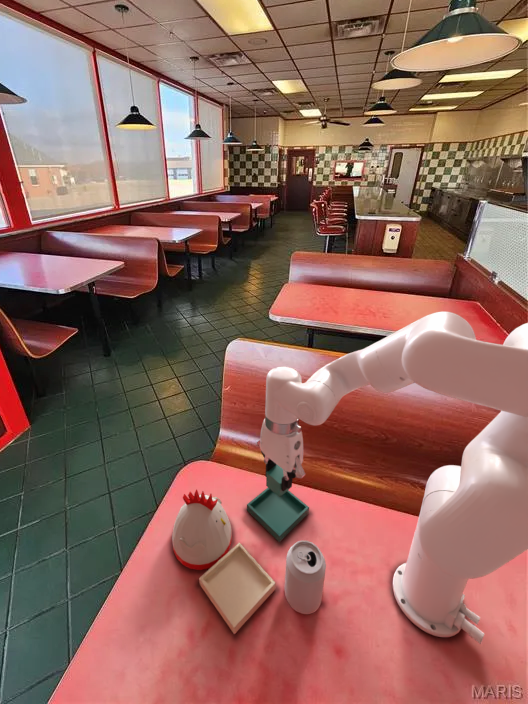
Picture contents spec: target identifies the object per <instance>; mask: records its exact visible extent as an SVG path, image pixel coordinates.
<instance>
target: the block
mask: <svg viewBox="0 0 528 704" xmlns="http://www.w3.org/2000/svg"><path fill="white" fill-rule="evenodd" d="M265 474H266V476H265V480H266V481H265V487H266V488H269V489H270V490H272V491H273V492H274V493H275V494H276V495H277V496H278V497H281V496H282V495H283V494H284V493H285V492H286V491H288V490H289V491H290V490H291V488H292V487H293V485H292V486H291V487H290V488H289V489H288V488H287V489H286V490H285V491H284V492H283V491H282V490H281V485H282V477H283V476H284V474H283V469H282V468H281V467H280V466H278V465H277V464H276V465H275V466H274V467H273V468H272V469H270V470H269V471H268V472H266V471H265Z"/></svg>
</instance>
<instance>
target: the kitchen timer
mask: <svg viewBox="0 0 528 704" xmlns="http://www.w3.org/2000/svg"><path fill="white" fill-rule="evenodd" d="M182 500H183V501H184V503H183V505H182V506H181V507H180V509H179V511H178V513H177V515H176V518H175V521H174V524H173V529H172V535H171V540H172V541H171V542H172V549H173V553H174V556H175V558H176V559H177V560H178V562H179V563H180V564H182V565H183V566H184V567H186V568H188V569H190V570H197V571H203V570H207V569H208V570H209V569H210V568H211V567H212V566H213V565H214V564H216V563H217V562H218V561H219V560H220V559H221V558H222V557H223V556H225V555H226V554H227V553H228V552H229V551H230V550H231V546H232V545H231V544H232V541H233V540H232V533H233V532H232V525H231V522H230V519H229V516H228V513H227V512H226V510H225V508H224V506H223V505H222V500H221V498H219V497H217V496H213V494H212V493H209V495H207V494H205V492H204V491H203V490H202V491H201V494H199V491H198V489H197V488H196V489H195V491H194V493H192V491H189V493H188V494H187V495H186V494H185V493H184V494H183V496H182Z"/></svg>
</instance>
